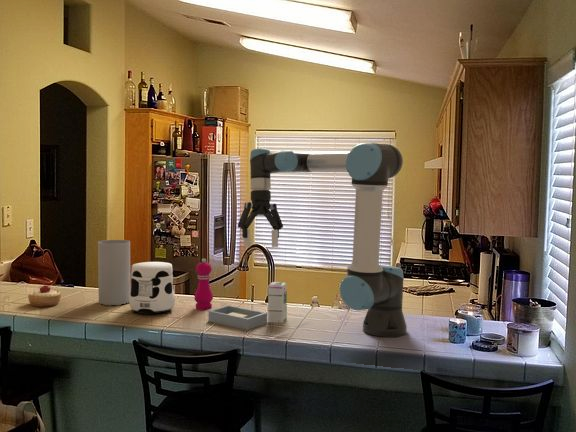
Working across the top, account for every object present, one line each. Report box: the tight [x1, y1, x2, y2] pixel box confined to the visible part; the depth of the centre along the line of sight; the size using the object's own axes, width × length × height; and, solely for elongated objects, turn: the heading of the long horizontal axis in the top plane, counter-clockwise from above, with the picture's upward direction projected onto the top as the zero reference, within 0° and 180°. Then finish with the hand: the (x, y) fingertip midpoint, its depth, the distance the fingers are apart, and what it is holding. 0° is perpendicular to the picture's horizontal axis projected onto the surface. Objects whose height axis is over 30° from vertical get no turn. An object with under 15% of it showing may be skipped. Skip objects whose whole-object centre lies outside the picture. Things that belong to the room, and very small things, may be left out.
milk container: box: [128, 261, 176, 315], centre depth 227 cm, size 17×17×18 cm
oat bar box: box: [229, 312, 248, 318], centre depth 211 cm, size 7×4×2 cm, turn 56°
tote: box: [208, 304, 268, 331], centre depth 211 cm, size 18×11×4 cm, turn 56°
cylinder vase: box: [97, 239, 131, 306], centre depth 239 cm, size 12×12×25 cm
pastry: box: [27, 283, 62, 308], centre depth 234 cm, size 12×12×9 cm
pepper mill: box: [194, 258, 214, 311], centre depth 232 cm, size 7×7×20 cm
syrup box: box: [267, 281, 288, 324], centre depth 213 cm, size 6×6×14 cm
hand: (261, 247), depth 219 cm, fingers open, 13 cm apart
